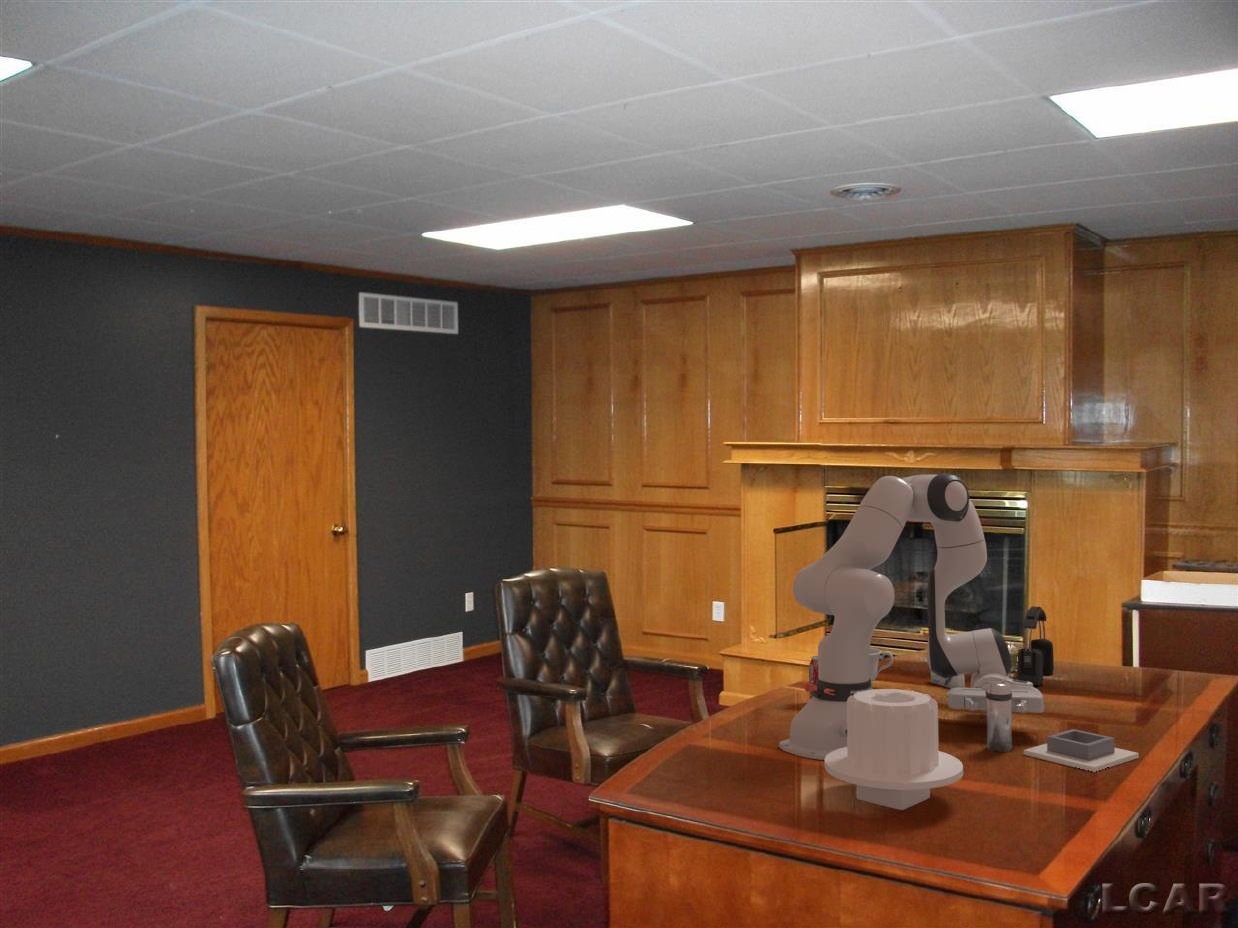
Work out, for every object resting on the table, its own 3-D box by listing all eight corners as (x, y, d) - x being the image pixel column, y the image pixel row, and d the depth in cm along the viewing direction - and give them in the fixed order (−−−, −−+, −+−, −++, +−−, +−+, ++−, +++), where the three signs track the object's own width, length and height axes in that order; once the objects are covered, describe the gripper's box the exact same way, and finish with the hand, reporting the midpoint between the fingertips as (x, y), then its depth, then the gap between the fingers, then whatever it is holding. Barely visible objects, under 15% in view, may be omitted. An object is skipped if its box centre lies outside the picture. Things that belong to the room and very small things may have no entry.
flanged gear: (798, 799, 206) (796, 698, 205) (872, 770, 223) (870, 677, 223) (918, 831, 188) (916, 721, 187) (988, 796, 205) (986, 695, 205)
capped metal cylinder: (1002, 753, 233) (1001, 687, 233) (981, 748, 237) (980, 683, 237) (1018, 749, 236) (1017, 683, 236) (996, 743, 240) (995, 679, 240)
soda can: (830, 709, 274) (829, 661, 274) (804, 705, 279) (803, 658, 278) (842, 703, 280) (841, 656, 280) (817, 700, 284) (816, 653, 284)
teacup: (894, 692, 291) (894, 654, 291) (837, 691, 294) (836, 653, 294) (892, 682, 303) (892, 646, 302) (837, 681, 306) (836, 645, 305)
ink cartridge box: (958, 690, 292) (957, 653, 292) (930, 682, 302) (929, 647, 302) (965, 689, 293) (965, 652, 293) (937, 681, 303) (936, 646, 303)
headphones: (1040, 688, 293) (1039, 613, 293) (1015, 685, 296) (1014, 611, 296) (1055, 672, 312) (1054, 602, 311) (1032, 670, 315) (1031, 600, 315)
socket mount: (1094, 772, 219) (1094, 752, 219) (1023, 754, 232) (1023, 735, 232) (1138, 757, 228) (1138, 738, 228) (1068, 741, 241) (1068, 723, 241)
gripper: (945, 678, 256) (947, 691, 242) (1039, 682, 250) (1046, 695, 237) (945, 705, 256) (947, 720, 242) (1039, 709, 250) (1046, 724, 237)
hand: (997, 708), depth 240 cm, fingers open, 8 cm apart
